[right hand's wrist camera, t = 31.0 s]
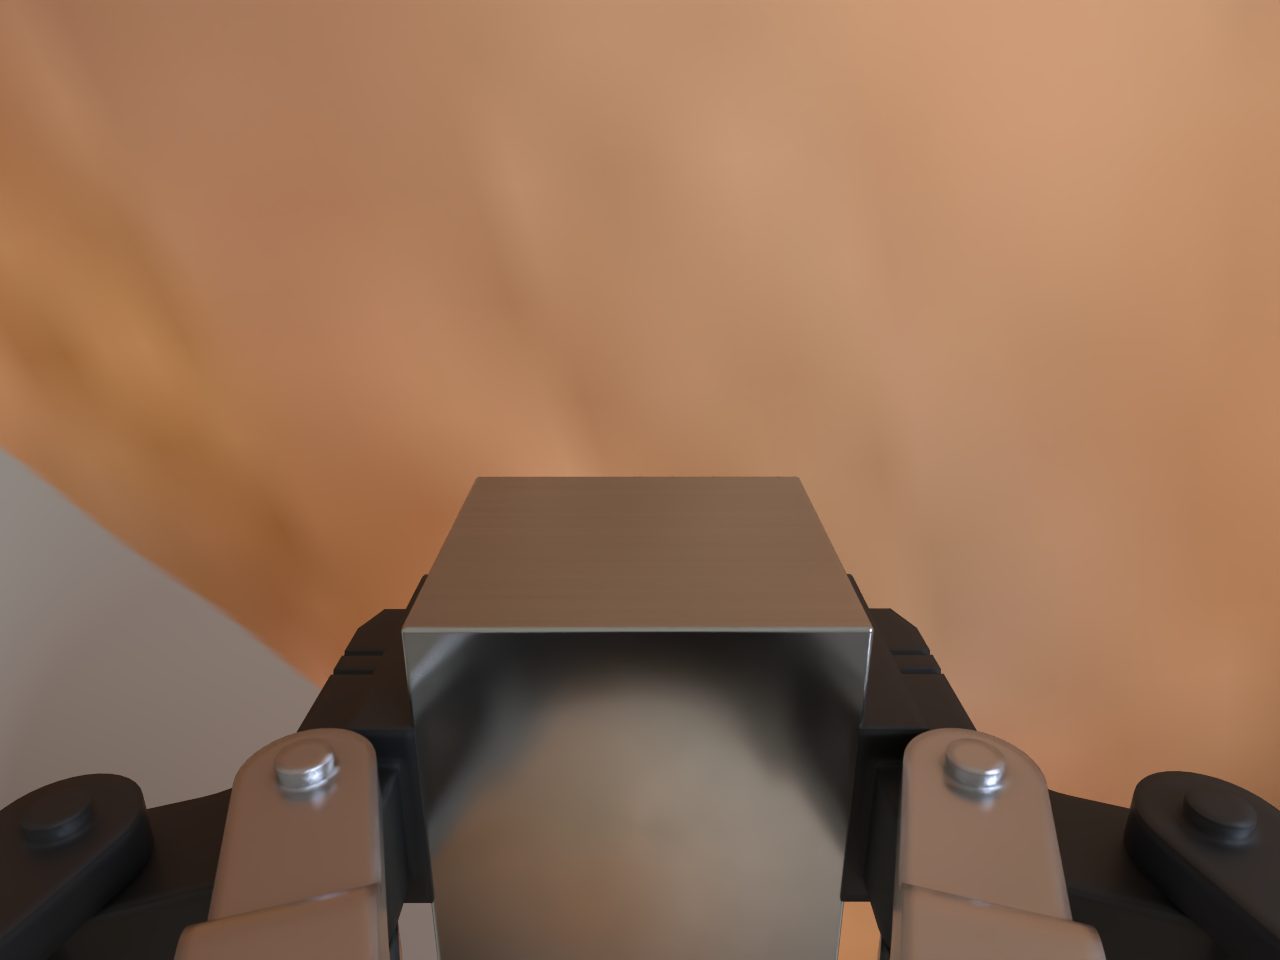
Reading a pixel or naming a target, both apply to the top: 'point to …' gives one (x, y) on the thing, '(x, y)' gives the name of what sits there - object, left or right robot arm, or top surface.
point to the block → (637, 720)
